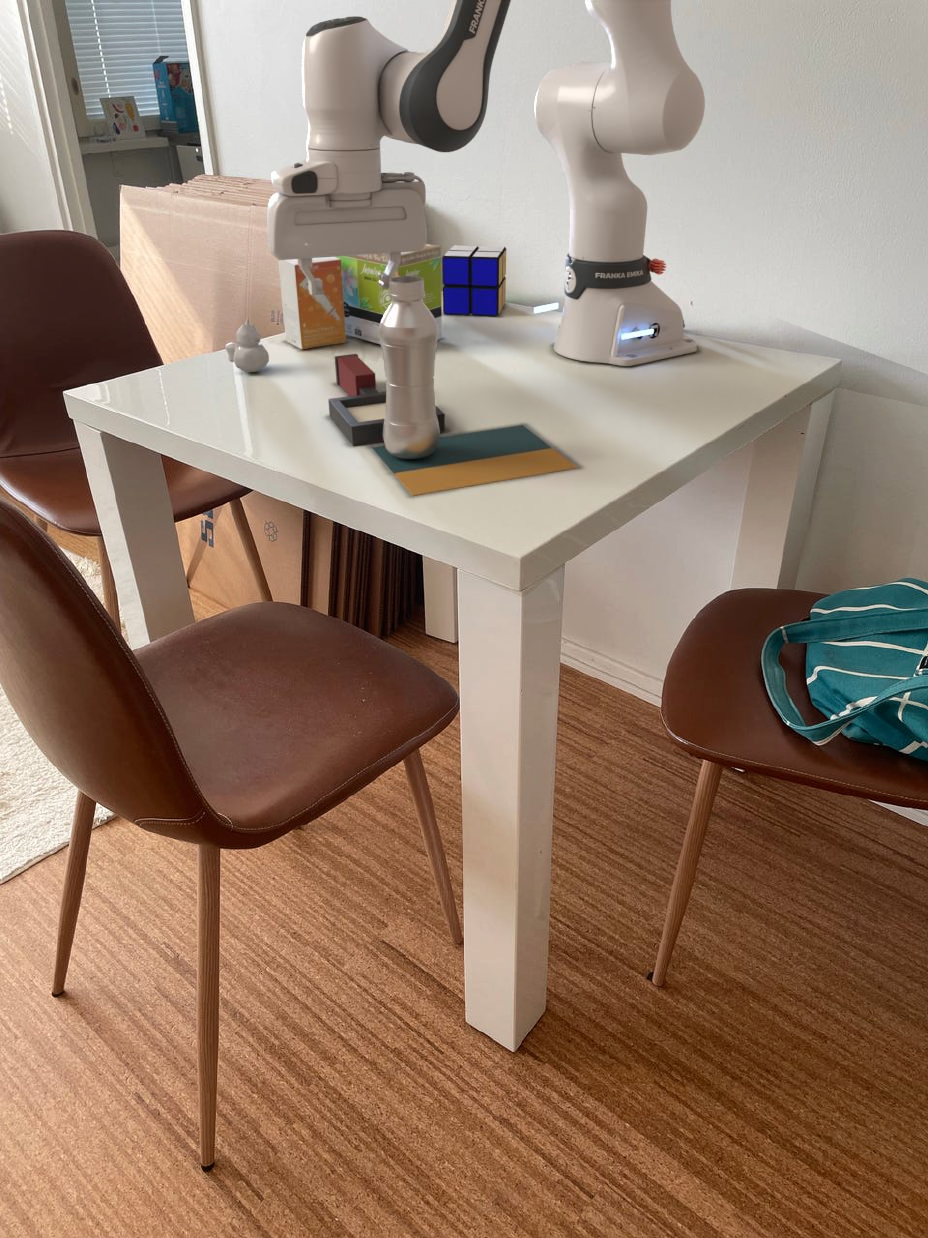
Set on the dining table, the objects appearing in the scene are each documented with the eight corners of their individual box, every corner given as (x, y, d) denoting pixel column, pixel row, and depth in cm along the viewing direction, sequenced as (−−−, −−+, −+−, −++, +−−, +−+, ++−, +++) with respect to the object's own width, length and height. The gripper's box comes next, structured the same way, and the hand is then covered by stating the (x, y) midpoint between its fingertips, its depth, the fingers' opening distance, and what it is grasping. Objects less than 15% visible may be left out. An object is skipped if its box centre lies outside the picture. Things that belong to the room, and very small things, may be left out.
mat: (522, 428, 119) (522, 424, 119) (577, 471, 107) (577, 467, 107) (372, 451, 113) (372, 447, 112) (413, 499, 101) (412, 495, 101)
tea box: (336, 335, 155) (329, 241, 147) (379, 323, 161) (375, 232, 153) (401, 352, 146) (397, 253, 138) (444, 338, 153) (443, 243, 145)
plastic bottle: (383, 445, 113) (374, 273, 102) (439, 443, 113) (435, 271, 103) (383, 466, 107) (374, 286, 97) (442, 464, 108) (439, 285, 97)
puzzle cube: (442, 314, 166) (441, 255, 161) (452, 301, 174) (451, 244, 169) (498, 316, 164) (499, 257, 159) (505, 303, 173) (506, 246, 167)
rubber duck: (261, 377, 136) (254, 321, 132) (220, 374, 137) (212, 318, 133) (277, 366, 140) (271, 312, 136) (237, 363, 142) (230, 309, 138)
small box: (302, 350, 147) (293, 264, 140) (285, 341, 152) (276, 257, 145) (347, 342, 151) (341, 258, 144) (330, 333, 156) (323, 251, 149)
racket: (306, 387, 132) (303, 359, 130) (387, 377, 136) (385, 350, 133) (352, 445, 113) (350, 413, 111) (445, 431, 117) (444, 400, 115)
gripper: (416, 168, 120) (418, 280, 127) (258, 174, 113) (269, 292, 121) (433, 173, 115) (434, 290, 122) (268, 180, 108) (280, 302, 116)
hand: (351, 291), depth 121 cm, fingers open, 8 cm apart
